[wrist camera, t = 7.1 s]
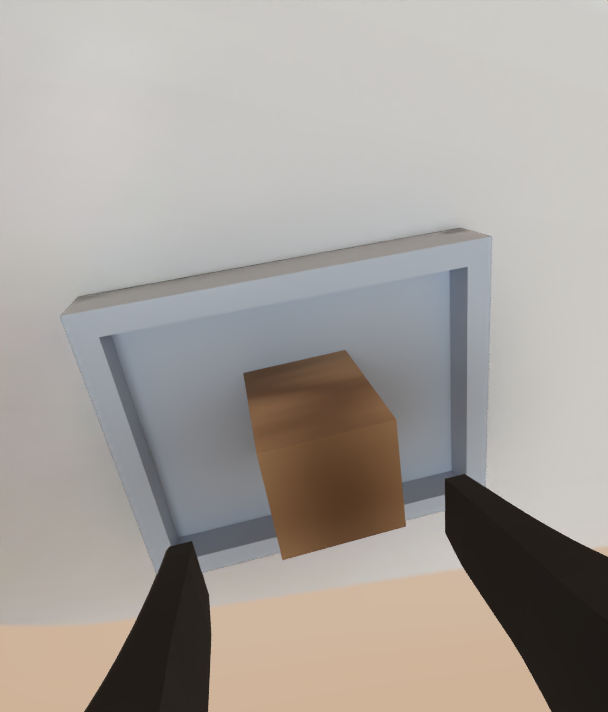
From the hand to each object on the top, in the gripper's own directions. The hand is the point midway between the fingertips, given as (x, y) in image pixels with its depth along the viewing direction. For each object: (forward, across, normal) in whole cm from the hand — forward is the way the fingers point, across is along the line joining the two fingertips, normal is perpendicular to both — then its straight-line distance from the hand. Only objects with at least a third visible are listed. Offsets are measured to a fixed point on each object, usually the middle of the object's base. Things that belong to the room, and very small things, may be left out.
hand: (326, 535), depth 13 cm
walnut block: (+8, -1, +1) cm, 8 cm away
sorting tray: (+9, -1, +1) cm, 9 cm away
